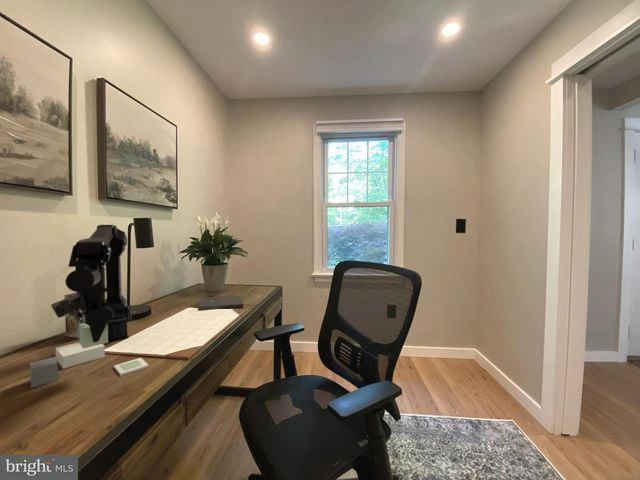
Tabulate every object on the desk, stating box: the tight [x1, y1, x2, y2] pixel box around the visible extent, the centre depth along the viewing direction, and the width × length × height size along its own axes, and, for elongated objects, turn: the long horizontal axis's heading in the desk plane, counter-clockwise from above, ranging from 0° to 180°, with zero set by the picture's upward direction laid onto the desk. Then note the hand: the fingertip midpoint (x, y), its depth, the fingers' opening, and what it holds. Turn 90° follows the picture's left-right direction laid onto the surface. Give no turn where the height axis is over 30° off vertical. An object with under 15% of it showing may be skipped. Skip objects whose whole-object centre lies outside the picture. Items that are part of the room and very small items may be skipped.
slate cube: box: [29, 356, 59, 388], centre depth 76 cm, size 5×5×5 cm
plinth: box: [55, 341, 106, 369], centre depth 89 cm, size 10×10×4 cm
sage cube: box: [78, 323, 109, 348], centre depth 80 cm, size 6×6×6 cm
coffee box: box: [64, 292, 84, 339], centre depth 108 cm, size 9×6×16 cm
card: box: [113, 357, 149, 377], centre depth 84 cm, size 7×7×1 cm
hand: (93, 339), depth 80 cm, fingers closed on sage cube, 5 cm apart
